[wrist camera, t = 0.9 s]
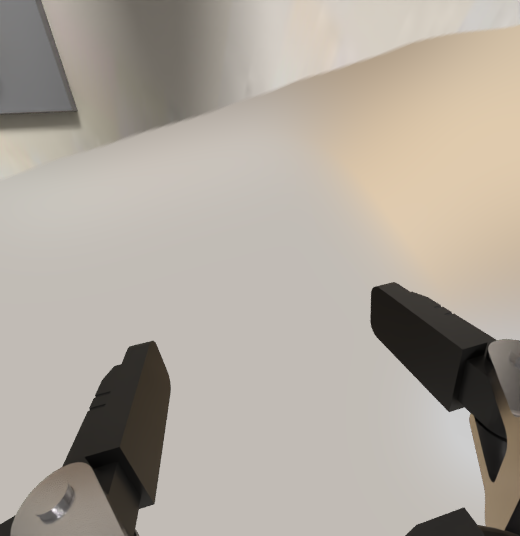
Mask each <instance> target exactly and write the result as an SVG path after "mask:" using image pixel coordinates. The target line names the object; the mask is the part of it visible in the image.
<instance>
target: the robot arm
mask: <svg viewBox="0 0 520 536" xmlns="http://www.w3.org/2000/svg"><path fill="white" fill-rule="evenodd" d="M371 327H372V329H373V332H374V334H375V335H376V337H377V338H378V339H379V340H380V341H381V342H382V343H383V344H384V345H385V346H386V347H387V348H388V349H389V350H390V351H391V352H392V353H393V354H394V356H395V357H396V358H397V359H398V360H399V361H400V362H401V363H402V364H403V365H404V366H405V367H406V368H407V369H408V370H409V371H410V372H411V373H412V374H413V375H414V376H415V377H416V378H417V379H418V380H419V381H420V382H421V383H422V385H423V386H424V387H425V388H426V389H427V390H428V391H429V392H430V393H431V394H432V395H433V396H434V397H435V398H436V399H437V400H438V401H439V402H440V403H441V404H442V405H443V406H444V407H445V408H446V409H447V410H448V411H449V412H451V411H454V410H457V409H460V408H463V407H465V408H466V409H467V410H468V411H469V412H470V413H471V414H470V418H469V421H470V426H471V430H472V435H473V440H474V444H475V449H476V453H477V458H478V462H479V466H480V471H481V475H482V479H483V484H484V490H485V524H486V526H480V525H477V524H476V523H475V521H474V520H473V519H472V517H471V516H470V515H469V513H468V512H467V511H466V509H465V508H461V509H459V510H456V511H453V512H450V513H448V514H445V515H442V516H440V517H437V518H434V519H432V520H429V521H426V522H424V523H421V524H418V525H416V526H415V527H414V528H413V529H412V530H411V531H410V532H409V533H408V534H407V535H406V536H520V341H519V340H510V339H502V340H496V339H494V338H492V337H491V336H489V335H488V334H486V333H484V332H483V331H481V330H480V329H478V328H476V327H475V326H473V325H471V324H470V323H468V322H467V321H465V320H463V319H462V318H460V317H459V316H457V315H455V314H452V313H451V312H450V311H449V310H447V309H446V308H444V307H441V306H440V305H439V304H438V303H436V302H435V301H433V300H431V299H429V298H428V297H425V296H422V295H420V294H417V293H414V292H409V291H408V290H406V289H405V288H403V287H402V286H400V285H399V284H397V283H395V282H393V283H389V284H384V285H380V286H377V287H374V288H373V289H372V291H371ZM170 390H171V387H170V379H169V375H168V372H167V370H166V367H165V364H164V362H163V359H162V357H161V355H160V352H159V350H158V347H157V345H156V343H155V342H154V341H151V342H146V343H142V344H138V345H134V346H130V347H129V348H128V350H127V352H126V354H125V357H124V359H123V362H122V364H121V365H117V366H114V367H113V368H112V370H111V371H110V372H109V373H108V374H107V375H106V376H105V378H104V379H103V380H102V382H101V384H100V386H99V388H98V391H97V393H96V395H95V396H96V397H95V398H94V399H93V401H92V403H91V406H90V411H88V412H87V414H86V416H85V419H84V421H83V423H82V425H81V427H80V430H79V432H78V434H77V436H76V438H75V440H74V443H73V445H72V447H71V449H70V451H69V453H68V456H67V458H66V460H65V462H64V464H63V467H61V468H60V469H58V470H56V471H54V472H53V473H52V474H50V475H49V476H47V477H46V478H45V479H44V480H43V481H42V482H40V483H39V484H38V485H37V486H36V488H34V489H33V491H32V492H31V493H30V494H29V495H28V497H27V498H26V499H25V501H24V502H23V503H22V505H21V507H20V508H19V510H18V512H17V514H16V515H15V516H14V517H12V518H10V519H9V520H7V521H5V522H4V523H2V524H0V536H139V534H138V532H137V531H136V530H135V526H136V520H137V515H138V510H139V509H140V508H144V507H146V506H150V505H153V504H154V502H155V496H156V489H157V482H158V475H159V468H160V461H161V455H162V448H163V441H164V433H165V426H166V420H167V413H168V406H169V398H170Z"/></svg>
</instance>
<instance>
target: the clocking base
mask: <svg viewBox="0 0 520 536" xmlns="http://www.w3.org/2000/svg"><path fill="white" fill-rule="evenodd" d="M66 111H77V108H76V105H75V102H74V99H73V96H72V93H71V90H70V87H69V84H68V81H67V78H66V75H65V72H64V69H63V66H62V63H61V60H60V57H59V54H58V51H57V48H56V45H55V41H54V38H53V35H52V32H51V29H50V26H49V23H48V20H47V17H46V14H45V11H44V8H43V5H42V2H41V0H0V114H19V113H43V112H66Z"/></svg>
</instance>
